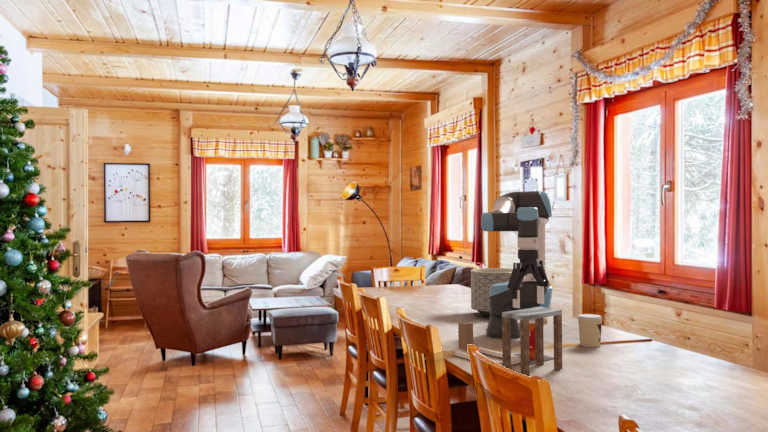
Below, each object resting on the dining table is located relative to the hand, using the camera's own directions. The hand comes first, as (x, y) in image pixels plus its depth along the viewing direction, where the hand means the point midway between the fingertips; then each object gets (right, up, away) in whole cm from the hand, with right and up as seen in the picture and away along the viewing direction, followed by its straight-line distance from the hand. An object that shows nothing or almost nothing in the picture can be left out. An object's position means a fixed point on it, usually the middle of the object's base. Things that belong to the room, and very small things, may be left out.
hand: (528, 305), depth 222 cm
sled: (-16, -20, -1) cm, 25 cm away
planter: (+5, -19, +92) cm, 94 cm away
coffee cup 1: (+1, -19, -1) cm, 19 cm away
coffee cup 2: (+30, -19, +20) cm, 41 cm away
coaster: (0, -20, 0) cm, 20 cm away
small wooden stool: (-3, -20, -18) cm, 27 cm away
